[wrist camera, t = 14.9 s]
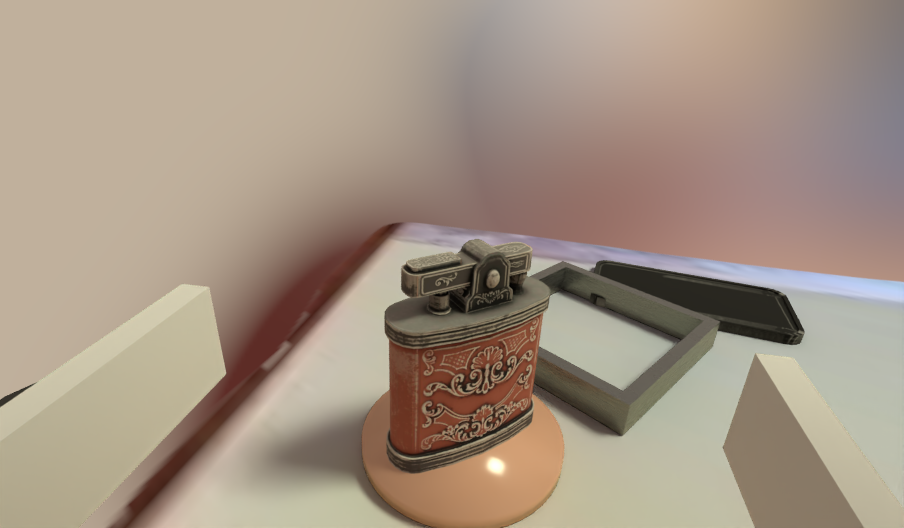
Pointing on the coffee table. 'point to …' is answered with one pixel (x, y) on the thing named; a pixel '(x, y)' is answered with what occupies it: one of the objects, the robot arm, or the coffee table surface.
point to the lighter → (462, 354)
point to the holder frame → (644, 392)
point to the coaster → (469, 475)
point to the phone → (713, 300)
